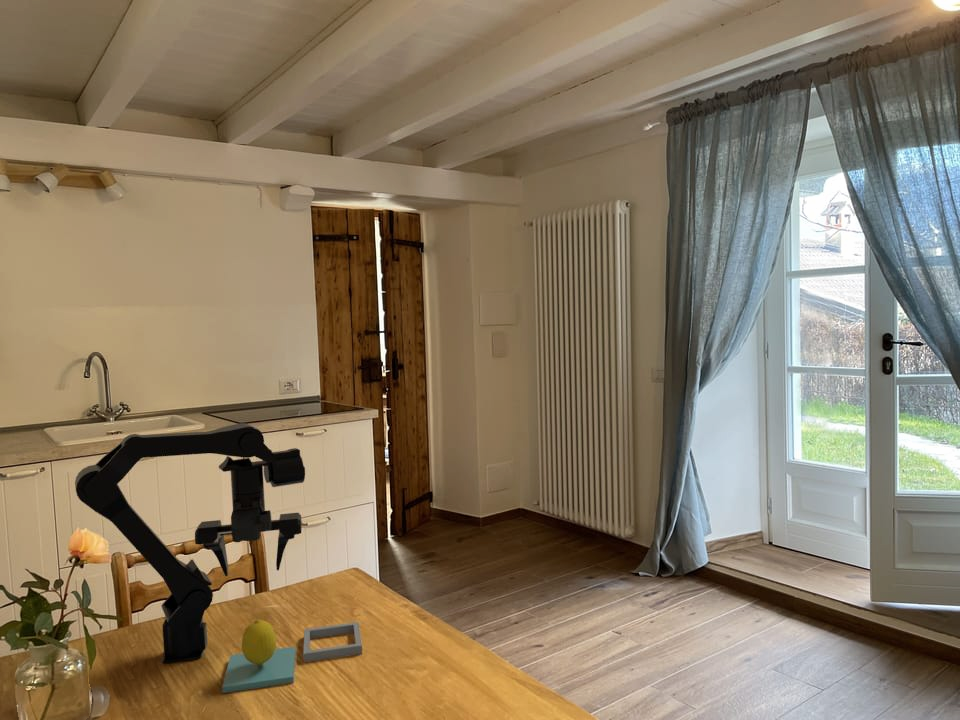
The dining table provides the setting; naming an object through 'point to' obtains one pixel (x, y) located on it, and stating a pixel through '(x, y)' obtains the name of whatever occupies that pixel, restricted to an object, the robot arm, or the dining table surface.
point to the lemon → (258, 642)
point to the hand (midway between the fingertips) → (252, 572)
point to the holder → (332, 651)
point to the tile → (260, 671)
